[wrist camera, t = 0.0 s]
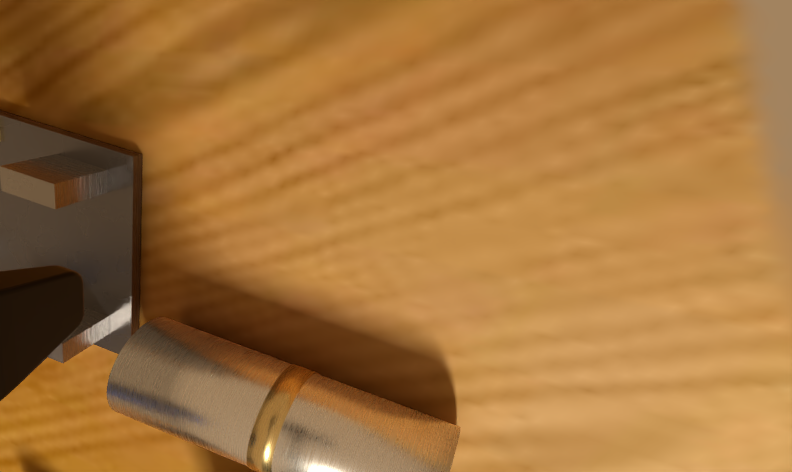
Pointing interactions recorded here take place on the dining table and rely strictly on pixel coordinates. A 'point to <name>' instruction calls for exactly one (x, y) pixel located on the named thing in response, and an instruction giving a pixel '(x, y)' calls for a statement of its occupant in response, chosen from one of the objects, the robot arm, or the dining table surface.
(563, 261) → the dining table surface
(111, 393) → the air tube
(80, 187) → the collar cradle
